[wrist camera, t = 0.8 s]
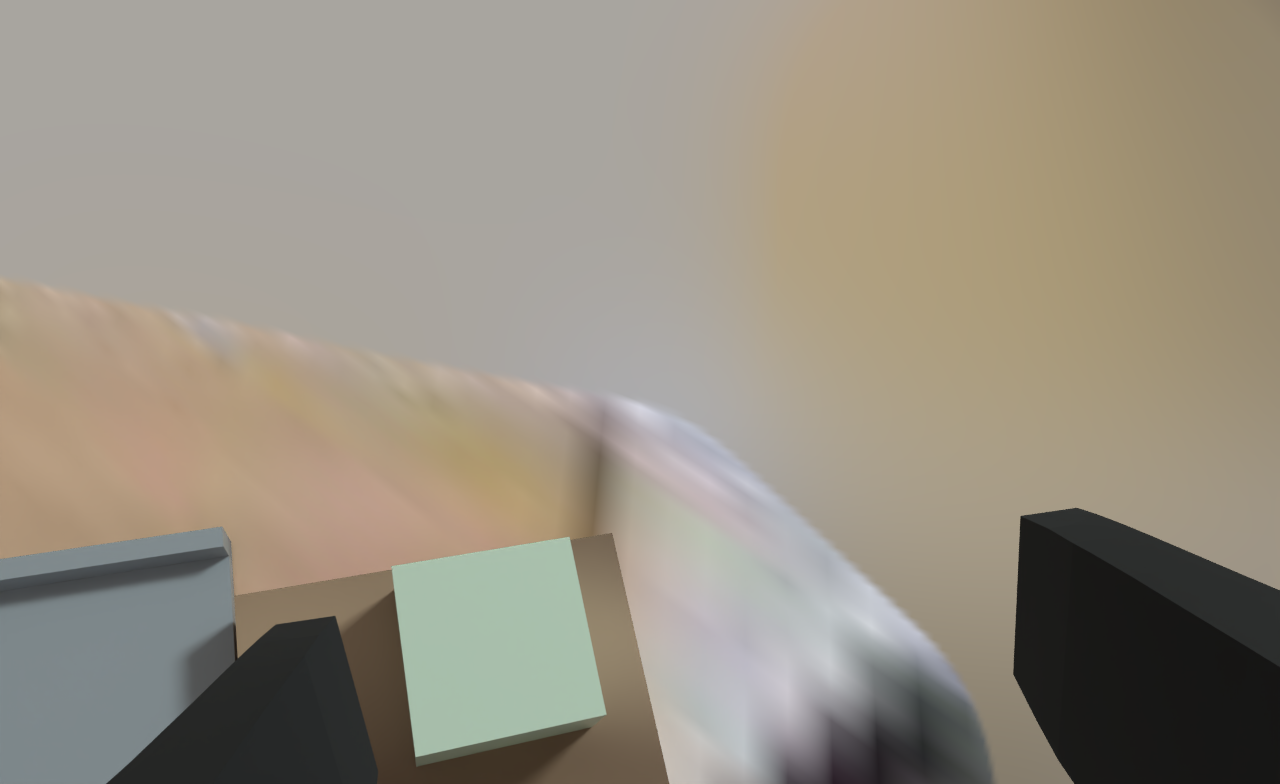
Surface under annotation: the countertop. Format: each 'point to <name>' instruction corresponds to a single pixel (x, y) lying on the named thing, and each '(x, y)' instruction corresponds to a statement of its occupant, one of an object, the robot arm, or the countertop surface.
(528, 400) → the countertop surface
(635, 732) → the walnut board
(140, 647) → the tray
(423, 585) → the green tile
